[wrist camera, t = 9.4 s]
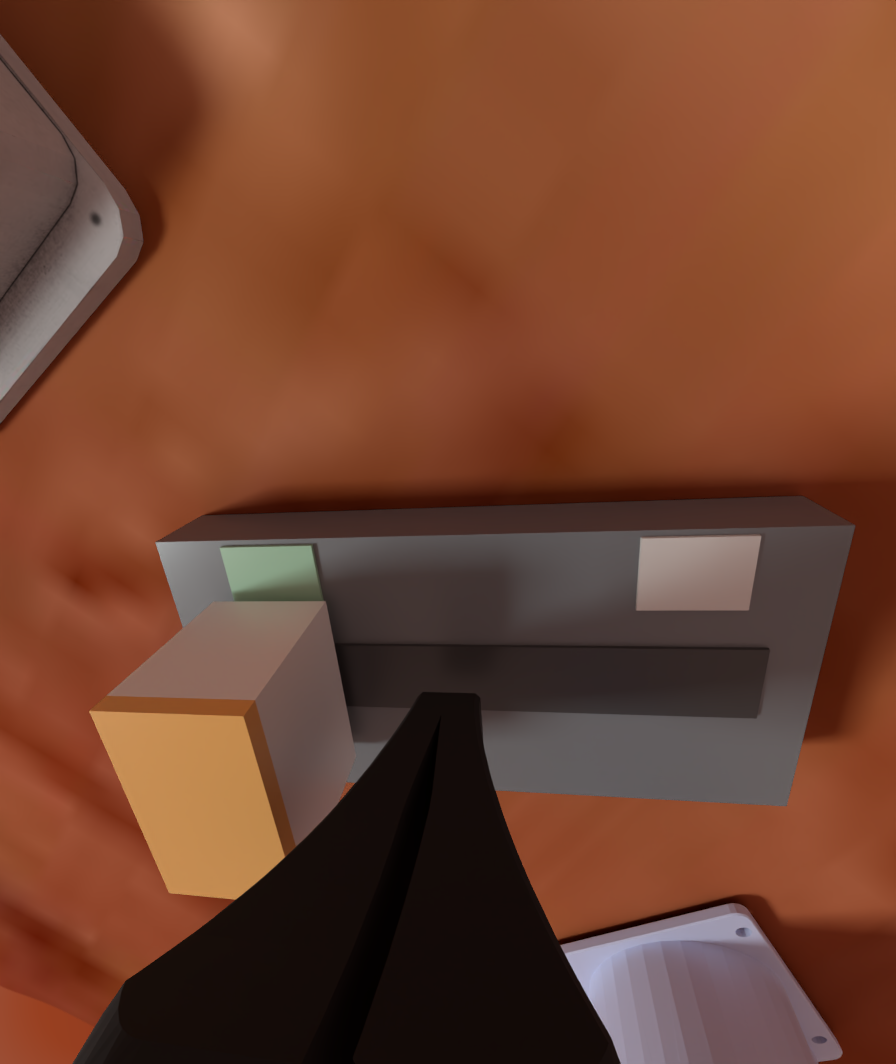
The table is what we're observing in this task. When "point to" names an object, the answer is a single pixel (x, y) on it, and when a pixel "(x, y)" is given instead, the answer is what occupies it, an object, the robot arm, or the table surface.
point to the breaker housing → (561, 629)
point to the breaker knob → (232, 742)
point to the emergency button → (51, 230)
